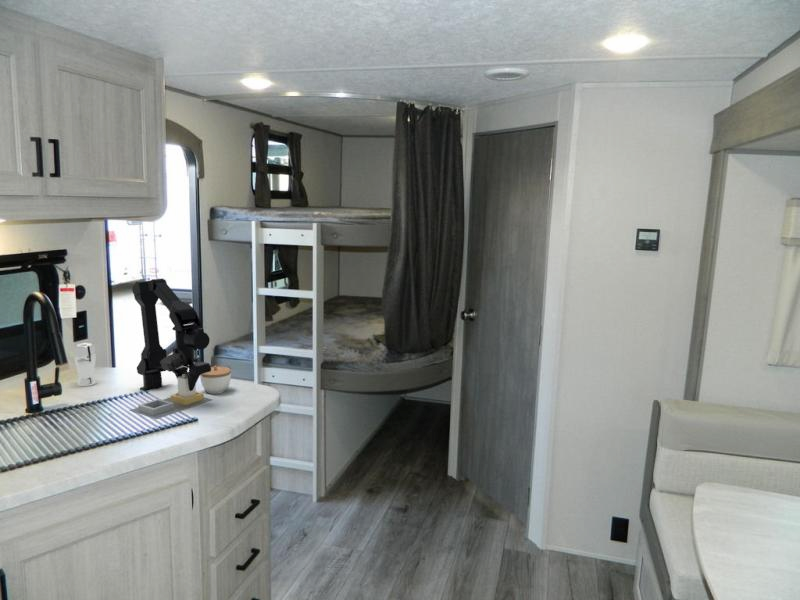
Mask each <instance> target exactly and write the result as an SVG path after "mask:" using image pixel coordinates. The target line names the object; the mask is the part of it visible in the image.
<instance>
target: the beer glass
mask: <svg viewBox="0 0 800 600" xmlns="http://www.w3.org/2000/svg"><path fill="white" fill-rule="evenodd" d="M96 357H97V355H96V348H95V343H94V342H93V343H92V342H81V343H77V344H74V345H73V359H74V364H75V368H76V371H77V375H78V376H77V386H78V387H89V386H94V385H96V384H97V381H96V380H97V379H96V376H95V368H96V359H97V358H96Z"/></svg>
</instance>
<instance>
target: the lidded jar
mask: <svg viewBox="0 0 800 600" xmlns="http://www.w3.org/2000/svg"><path fill="white" fill-rule="evenodd" d="M199 377H200V383H201V385H202V387H203V389H204V391H206V392H207V393H208V394H211V395H212V394H213V395H216V394H222V393H224V392H225V391H226V389H228V387H229V386H230V383H231V379H232V378H231V377H232V369H231V368H230V367H227V366H226V367H225V366H217V365H214V366H211V371H210V372H207V373H203V374H201V375H200V376H199Z"/></svg>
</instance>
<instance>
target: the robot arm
mask: <svg viewBox="0 0 800 600" xmlns="http://www.w3.org/2000/svg"><path fill="white" fill-rule="evenodd" d="M131 287H132V289H131V290H132V293H133V296H134V300H135V301H136V303H137V304H138V305H139V306H140V313H141V320H142V321H141V322H142V329H143V339H144V347H143V350H142V351H141V353H140V358H141V359H140V362H139V363H138V364H137V366H136V371H137V374H138V375H141V376H142V379H143V380H142V382H143V386H141V387H139V389H140V390H143V391H146V392H147V391H151V390H157V389H161V388H163V387H164V385H163V377H162V372H172V373H173V374H174V375H175V377H176V379H177V381H178V377H180V376H182V374H185V375H186V376H187V377H188V385H189V390H190V391H192V390H193V389H194V387H195V384H196V385H197V382H198V381H199V377H200V375H201V374H203V373H207V372H210V371H211V367H212V365H211V364H210V363H208V362H205V361H200V362H198V358H196V357H195V351H198V350H199V351H200V350H202V351H203V350H204V349H207V347H209V344H210V340H211V339H210V337H209V335H208V334H207V333H206V332H205V331H204V328H203V325H202V321H201V319H200V317H199V315H198V313H197V311H196V309H195V308H194V307H193V306H192V305H190V303H186V302H184V301H182V300H181V299H180V298H179V297H178V296H177V294H176V293H175V292H174V291H173V289H171V287H170V286H169V285H168V284H167V280H166V279H165V278H155V279H154V278H152V279H150V280H141V281H136V282H134V285H132V286H131ZM158 300H160V301H161V302H162V304H163V305H164V306H165V307H166V309H167V310H168V312H169V314H168V317H169V319H170V320H171V322H172V324H173V325H174V326H173V327H172V329H171V330H172V331H174V332H175V347H173V348H172V354H169V355H167V350H166V349H165V348H163V347H162V346H161V343H160V334H159V327H158V326H159V325H158V317H157V315H158V314H157V308H156V304H157V303H158Z"/></svg>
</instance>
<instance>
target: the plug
mask: <svg viewBox="0 0 800 600" xmlns="http://www.w3.org/2000/svg"><path fill="white" fill-rule="evenodd" d="M196 385H197V383H196V384H195V387H194V389H193V390H192V391H190V390H189V385H188V377H187V376H186V375H185V374H182V376H180V377H178V380H177V393H178V396H181V397H184V398H187V397H190V396H193V395H196V391H197V390H196Z"/></svg>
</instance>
